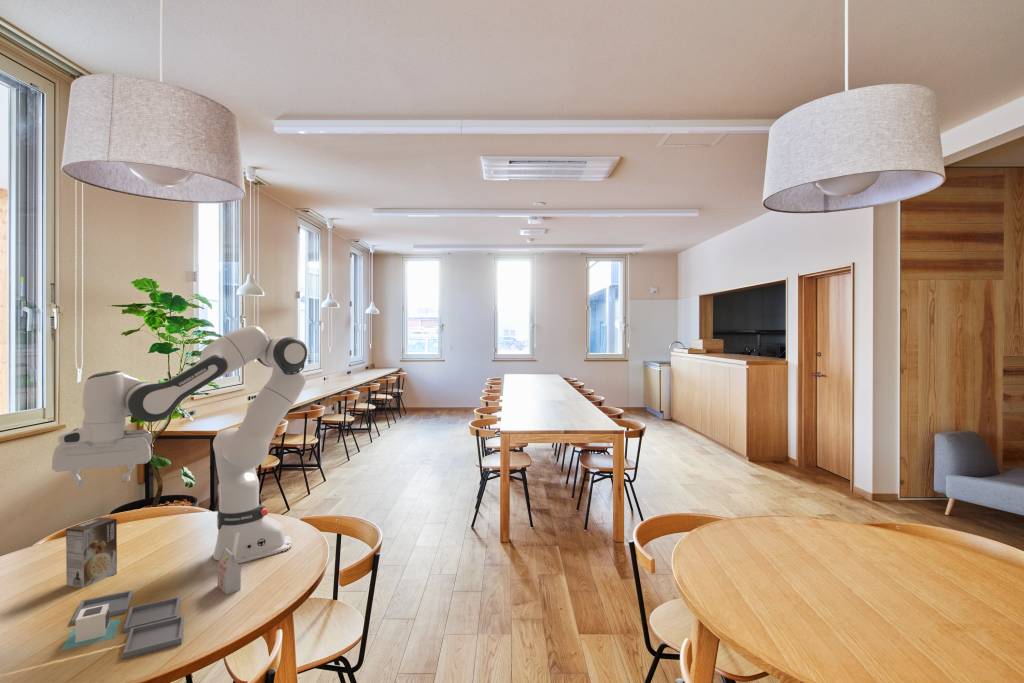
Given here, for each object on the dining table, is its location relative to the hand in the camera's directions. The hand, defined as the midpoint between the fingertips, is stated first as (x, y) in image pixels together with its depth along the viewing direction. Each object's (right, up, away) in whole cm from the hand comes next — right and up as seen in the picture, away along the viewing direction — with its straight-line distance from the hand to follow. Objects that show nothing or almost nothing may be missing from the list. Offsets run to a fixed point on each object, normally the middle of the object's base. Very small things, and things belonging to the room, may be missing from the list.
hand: (103, 483), depth 129 cm
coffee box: (-9, -29, +7) cm, 31 cm away
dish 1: (+7, -29, -8) cm, 31 cm away
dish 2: (+22, -29, -11) cm, 38 cm away
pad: (+13, -29, -19) cm, 37 cm away
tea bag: (+32, -30, +3) cm, 44 cm away
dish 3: (+29, -29, -20) cm, 46 cm away
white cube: (+13, -29, -19) cm, 37 cm away
